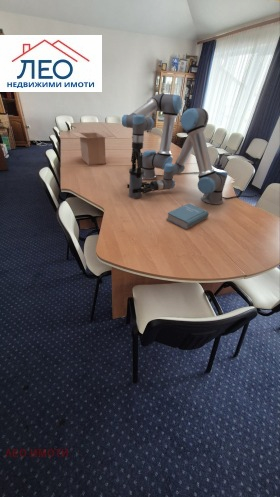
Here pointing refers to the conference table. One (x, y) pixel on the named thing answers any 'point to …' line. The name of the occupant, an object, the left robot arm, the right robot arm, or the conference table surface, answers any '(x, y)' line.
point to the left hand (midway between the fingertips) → (136, 175)
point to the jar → (135, 186)
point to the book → (187, 216)
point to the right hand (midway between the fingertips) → (129, 188)
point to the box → (92, 146)
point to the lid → (134, 171)
